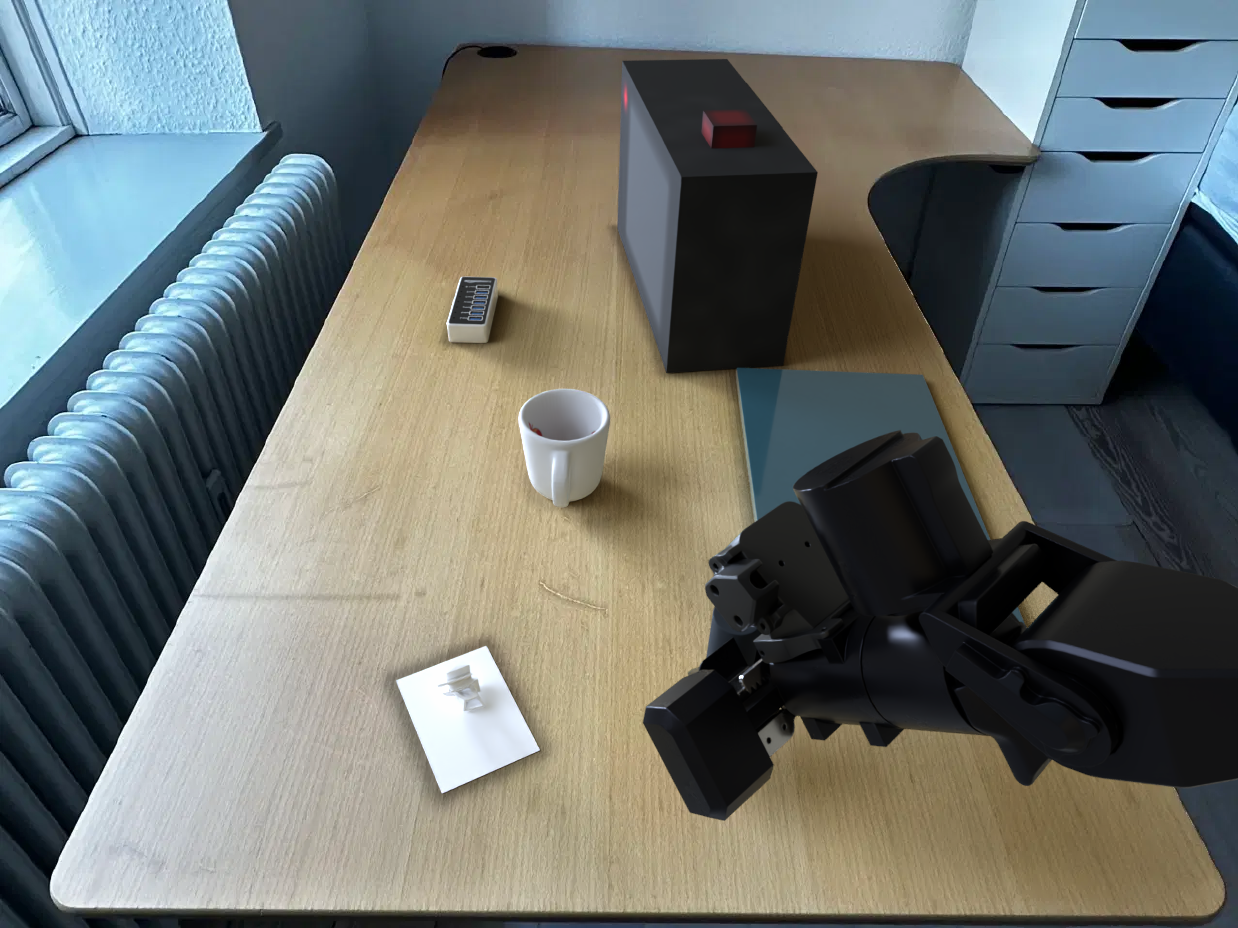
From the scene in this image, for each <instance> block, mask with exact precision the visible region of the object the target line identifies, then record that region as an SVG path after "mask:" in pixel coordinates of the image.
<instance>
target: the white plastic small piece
mask: <svg viewBox="0 0 1238 928" xmlns="http://www.w3.org/2000/svg"><path fill="white" fill-rule="evenodd" d="M445 678H446V682H444V683H440V684H438V685H437V687H438V688H440V689H439V690H440V694H441V695H443V696H445V697H454V696H455V697H456V699H457V701H458V703H459V705H460V708H461V710H462V711H463V712H468V711H472V710H476V709H481V708H485V707H486V704H485V703H484V701H483V699H482V697H481V696H480V694H479V693H480V692H481V686H480V681H479V677H478V675H477V674H476V675H473V673H472V672H471V665H470V664H457V665H455V666H454V667H453V668H452V669H450V670H449V671H448V672H447V673H446V674H445Z"/></svg>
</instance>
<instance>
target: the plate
mask: <svg viewBox="0 0 1238 928" xmlns="http://www.w3.org/2000/svg"><path fill="white" fill-rule="evenodd" d="M735 383H736V390H737V397H738V405H739V413H740V420H741V430H742V436H743V443H744V452H745V460H746V467H747V474H748V481H749V489H750V498H751V504H752V513H753V521H754V522H755V521H757V520H758V519H760V518H761V517H763V516H764V515H766V514H767V513H769V512H770V511H771V510H773V509H774V508H776V507H777V506H779V505H780V504H782V503H784V502H788V501H791V502H796V503H798V504H800V502H799V500H798V498H797V496H796V494H795V492H794V490H793V485H794V484H795V483H796V481H797V480H798V479H800V478H801V477H802V476H803V475H804V474H806V473H807V472H809V471H810V470H812V469H813V468H815V467H816V466H818V465H820V464H821V463H823V462H825V461H826V460H828V459H830V458H832V457H834V456H836V455H838V454H840V453H842V452H844V451H846V450H848V449H850V448H852V447H854V446H857V445H859V444H861V443H863V442H866V441H868V440H871V439H873V438H876V437H879V436H882V435H885V434H887V433H890V432H894V431H898V430H901V432H902V434H905V433H918V434H919V435H920V437H921V439H922V440H923V439H927V438H931V437H934V436H938V437H939V438H941V439H943V441H944V443H945V445H946V447H947V449H948V451H949V453H950V455H951V457H952V459H953V462H954V464H955V467H956V471H957V475H958V479H959V482H960V484H961V487H962V489H963V491H964V493H965V495H966V497H967V499H968V501H969V503H970V505H971V507H972V509H973V511H974V513H975V515H976V517H977V519H978V521H979V523H980V525H981V527H982V529H983V532H984V534H985V536H986V538H987V540H991V537H990V535H989V533H988V531H987V528H986V525H985V523H984V520H983V518H982V516H981V512H980V511H979V508H978V505H977V503H976V500H975V499H974V496H973V493H972V491H971V489H970V487H969V483H968V482H967V481H968V480H967V479H966V477H965V474H964V472H963V469H962V467H961V464H960V462H959V460H958V456H957V453H956V451H955V450H954V447H953V445H952V442H951V440H950V437H949V434H948V433H947V432H948V431H947V430H946V427H945V425H944V423H943V420H942V418H941V415H940V412H939V411H938V408H937V405H936V403H935V401H934V397H933V396H932V393H931V390H930V389H929V386H928V384H927V381H926V379H925V377H924V374H920V373H919V374H918V373H916V374H915V373H890V372H867V371H866V372H865V371H863V372H862V371H839V370H837V371H836V370H811V369H785V368H784V369H781V368H780V369H779V368H761V367H752V368H737V369H735ZM800 505H801V504H800ZM1012 613H1013V614H1014V615H1015V616H1016V618H1017V619H1018V620H1019V622H1023V623H1024V624H1025V625H1026V623H1025V620H1024V618H1023V616H1022V613H1021V611H1020V608H1019V606H1018V607H1017V608H1016V609H1015V610H1014V611H1013V612H1012Z"/></svg>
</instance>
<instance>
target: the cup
mask: <svg viewBox="0 0 1238 928" xmlns="http://www.w3.org/2000/svg"><path fill="white" fill-rule="evenodd" d="M518 426H519V427H518V428H519V432H520V438H521V443H522V449H523V453H524V460H525V464H526V470H527V474H528V478H529V481H530V484H531V485H532V487H533V488H534V490H535V491H536V492H537V493H538V494H540V495H541V496H543V497H544V498H545V499H548V500H550V501H551V500H552V504H553V506H554V507H555V508H566V507H568V506H569V503H570V502H575V501H579V500H582V499H584V498H586V497H588V496H589V495H591V494H592V493H593V492H594V491H595V490H596V488H597V487H598V486H599V484H600V482H601V479H602V475H603V470H604V466H605V465H604V464H605V459H606V452H607V446H608V439H609V432H610V427H611V413H610V410H609V408H608V407H607V405H606V403H604V402H603V400H602V399H600V398H599V397H597V396H596V395H594V394H592V393H590V392H587V391H584V390H580V389H574V388H555V389H549V390H546V391H542V392H540V393H538V394H535V395H534V396H532V397H531V398H529V399H528V400H527V401H526V402H524V404H523V405H522V407H521V408H520V410H519V413H518Z"/></svg>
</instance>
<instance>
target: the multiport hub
mask: <svg viewBox="0 0 1238 928" xmlns="http://www.w3.org/2000/svg"><path fill="white" fill-rule="evenodd" d="M498 299H499V287H498V278H497V277H492V276H461V277H460V278H459V281H458V284H457V287H456V290H455V295H454V298H453V300H452V303H451V304H452V305H451V307H450V311H449V314H448V317H447V321H446V327H447V336H448V337H447V338H448V341H449V343H462V344H463V343H465V344H466V343H467V344H468V343H469V344H487V343H488V342H489V339H490V335H491V330H492V325H493V321H494V317H495V311H496V307H497V304H498V303H497V302H498Z"/></svg>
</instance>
